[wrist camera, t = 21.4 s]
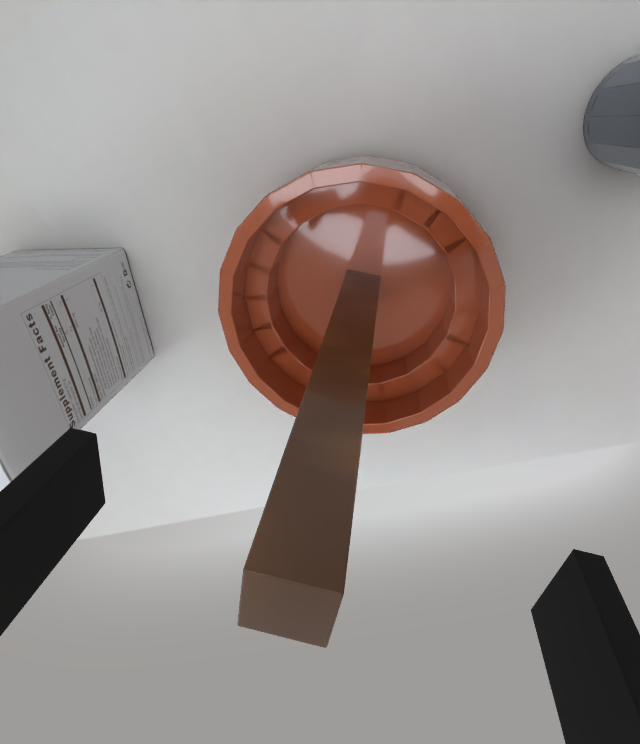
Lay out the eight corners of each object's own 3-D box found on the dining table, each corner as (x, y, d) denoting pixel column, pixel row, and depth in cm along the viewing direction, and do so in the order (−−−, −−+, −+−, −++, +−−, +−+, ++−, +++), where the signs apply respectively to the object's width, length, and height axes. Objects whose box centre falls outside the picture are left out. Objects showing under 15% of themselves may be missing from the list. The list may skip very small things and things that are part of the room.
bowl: (525, 184, 25) (557, 200, 20) (442, 404, 33) (450, 457, 28) (259, 133, 26) (224, 137, 21) (242, 360, 34) (214, 404, 29)
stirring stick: (381, 275, 28) (343, 594, 9) (373, 307, 29) (326, 649, 10) (347, 269, 28) (242, 569, 9) (341, 300, 29) (236, 626, 10)
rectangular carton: (57, 357, 36) (-130, 486, 24) (14, 248, 32) (-243, 334, 19) (158, 360, 35) (18, 499, 22) (127, 246, 31) (-69, 337, 18)
